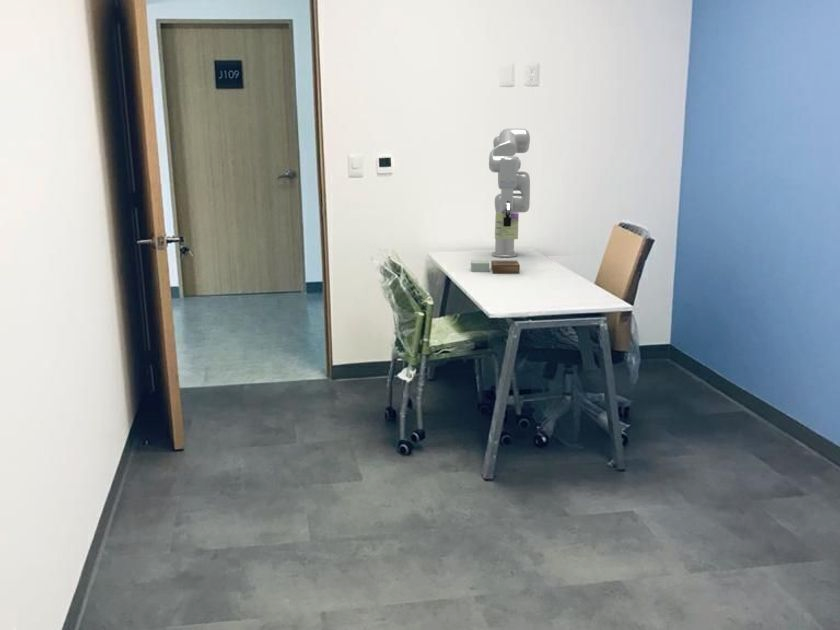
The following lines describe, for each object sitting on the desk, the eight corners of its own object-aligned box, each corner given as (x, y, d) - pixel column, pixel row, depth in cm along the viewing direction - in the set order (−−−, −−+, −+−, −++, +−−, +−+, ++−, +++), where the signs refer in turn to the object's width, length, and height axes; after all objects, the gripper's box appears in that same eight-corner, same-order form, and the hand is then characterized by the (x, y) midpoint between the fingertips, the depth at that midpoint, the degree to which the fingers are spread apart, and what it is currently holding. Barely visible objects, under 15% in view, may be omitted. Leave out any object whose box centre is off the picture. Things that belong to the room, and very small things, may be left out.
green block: (470, 268, 374) (471, 260, 373) (488, 268, 374) (488, 260, 373) (471, 271, 366) (471, 263, 366) (489, 271, 366) (489, 263, 365)
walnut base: (491, 268, 374) (491, 260, 373) (516, 268, 374) (517, 260, 373) (492, 273, 362) (493, 264, 361) (519, 273, 362) (519, 265, 361)
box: (517, 237, 367) (518, 211, 364) (517, 239, 361) (518, 213, 358) (494, 237, 368) (495, 211, 365) (494, 239, 362) (495, 213, 359)
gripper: (497, 183, 367) (496, 222, 372) (500, 186, 350) (499, 227, 355) (514, 183, 367) (513, 222, 371) (517, 186, 350) (516, 228, 355)
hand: (506, 224), depth 363 cm, fingers closed on box, 5 cm apart
